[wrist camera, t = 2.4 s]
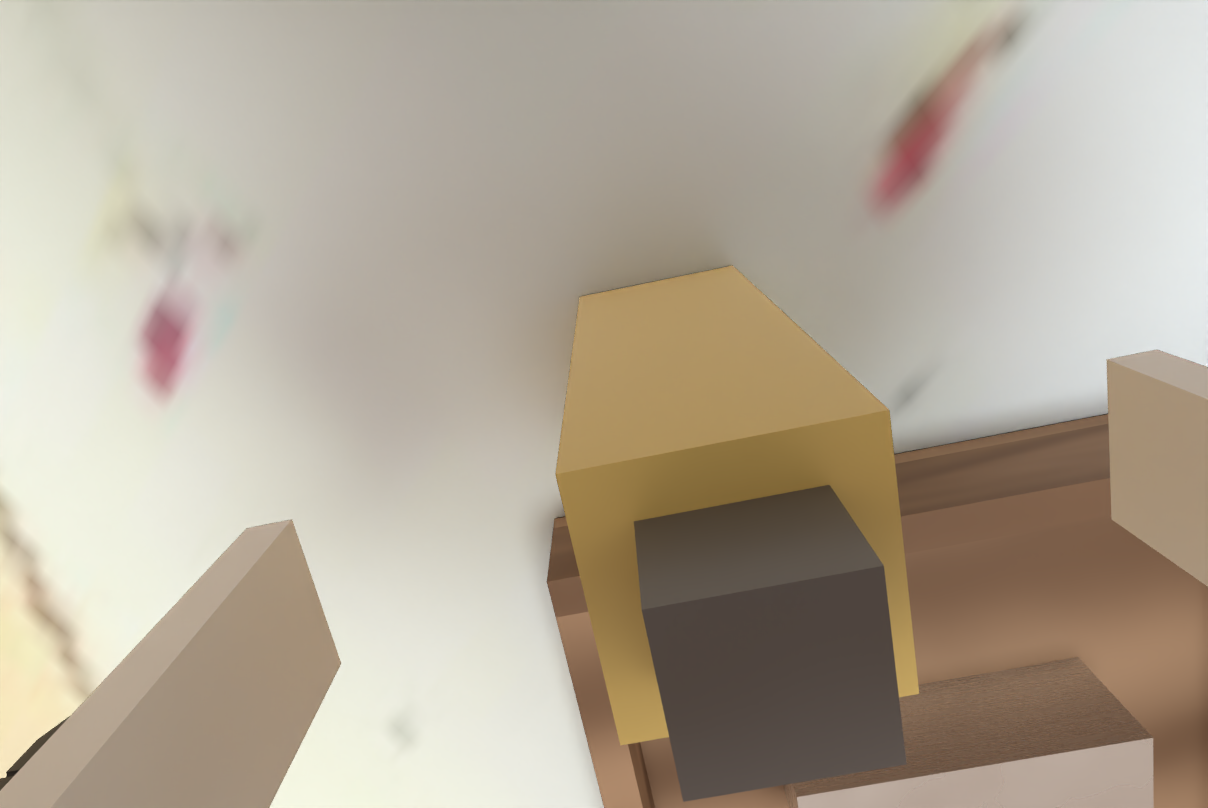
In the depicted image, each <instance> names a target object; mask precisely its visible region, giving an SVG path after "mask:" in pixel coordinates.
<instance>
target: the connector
mask: <svg viewBox="0 0 1208 808" xmlns="http://www.w3.org/2000/svg"><path fill="white" fill-rule="evenodd" d="M556 479H557V483H558V487H559V491H560V495H561V499H562V504H563V508H564V512H565V516H566V520H567V524H568V529H569V533H570V537H571V541H572V545H573V549H574V554H575V558H576V562H577V566H578V570H579V574H580V579H581V583H582V587H583V591H584V595H585V600H586V604H587V608H588V612H589V616H590V620H591V625H592V629H593V633H594V637H595V641H596V645H597V650H598V654H599V658H600V662H601V666H602V670H603V675H604V679H605V683H606V687H607V691H608V695H609V700H610V704H611V708H612V712H613V716H614V720H615V725H616V729H617V733H618V737H619V741H620V745H626V744H632V743H637V742H643V741H649V740H655V739H661V738H666V737H669V738H670V743H671V748H672V752H673V757H674V761H675V766H676V771H677V775H678V780H679V784H680V789H681V794H682V798H683V802H685V801H691V800H697V799H703V798H709V797H715V796H721V795H727V794H733V793H739V792H745V791H751V790H757V789H763V788H769V787H775V786H781V785H787V784H793V783H799V782H805V781H810V780H816V779H822V778H828V777H834V776H840V775H846V774H852V773H858V772H864V771H870V770H876V769H882V768H888V767H894V766H900V765H906V764H907V763H906V754H905V745H904V737H903V728H902V719H901V710H900V702H899V697H904V696H910V695H916V694H919V686H918V677H917V667H916V658H915V648H914V639H913V629H912V620H911V610H910V601H909V591H908V582H907V572H906V563H905V553H904V544H903V534H902V525H901V515H900V506H899V496H898V487H897V477H896V468H895V458H894V449H893V439H892V430H891V420H890V411H889V409H888V408H887V407H886V406H885V405H883V404H882V403H881V402H880V401H879V400H878V399H877V398H876V397H875V396H874V395H873V394H872V393H870V392H869V391H868V390H867V389H866V388H865V387H864V386H863V385H862V384H861V383H860V382H859V381H857V380H856V379H855V378H854V377H853V376H852V375H851V374H850V373H849V372H848V371H847V370H845V369H844V368H843V367H842V366H841V365H840V364H839V363H838V362H837V361H836V360H835V359H834V358H832V357H831V356H830V355H829V354H828V353H827V352H826V351H825V350H824V349H823V348H822V347H821V346H819V345H818V344H817V343H816V342H815V341H814V340H813V339H812V338H811V337H810V336H809V335H808V334H806V333H805V332H804V331H803V330H802V329H801V328H800V327H799V326H798V325H797V324H796V323H795V322H793V321H792V320H791V319H790V318H789V317H788V316H787V315H786V314H785V313H784V312H783V311H781V310H780V309H779V308H778V307H777V306H776V305H775V304H774V303H773V302H772V301H771V300H770V299H768V298H767V297H766V296H765V295H764V294H763V293H762V292H761V291H760V290H759V289H758V288H757V287H755V286H754V285H753V284H752V283H751V282H750V281H749V280H748V279H747V278H746V277H745V276H744V275H742V274H741V273H740V272H739V271H738V270H737V269H736V268H735V267H734V266H733V265H732V266H728V267H723V268H718V269H713V270H708V271H703V272H698V273H693V274H688V275H683V276H679V277H674V278H669V279H664V280H659V281H654V282H649V283H644V284H639V285H634V286H630V287H625V288H620V289H615V290H610V291H605V292H600V293H595V294H590V295H586V296H581V297H579V305H578V312H577V319H576V327H575V334H574V341H573V349H572V356H571V363H570V371H569V378H568V385H567V393H566V400H565V408H564V415H563V422H562V430H561V437H560V444H559V452H558V459H557V466H556Z"/></svg>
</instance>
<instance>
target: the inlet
mask: <svg viewBox="0 0 1208 808" xmlns="http://www.w3.org/2000/svg"><path fill="white" fill-rule="evenodd" d="M918 686H919V694H916V695H910V696H904V697H899V702H900V710H901V719H902V728H903V737H904V745H905V754H906V763H907V764H906V765H900V766H894V767H888V768H882V769H876V770H870V771H864V772H858V773H852V774H846V775H840V776H834V777H828V778H822V779H816V780H810V781H805V782H799V783H793V784H787V785H784V791H785V795H786V798H787V802H788V805H789V808H1154V799H1153V737H1152V736H1151V735H1150V734H1149V733H1148V732H1147V730H1146V729H1145V728H1144V727H1143V726H1142V725H1141V724H1140V723H1139V722H1138V721H1137V720H1136V719H1135V718H1134V717H1133V715H1132V714H1131V713H1130V712H1129V711H1128V710H1127V709H1126V708H1125V707H1124V706H1123V705H1122V704H1121V703H1120V701H1119V700H1118V699H1117V698H1116V697H1115V696H1114V695H1113V694H1112V693H1111V692H1110V691H1109V690H1108V689H1107V687H1106V686H1105V685H1104V684H1103V683H1102V682H1101V681H1100V680H1099V679H1098V678H1097V677H1096V676H1095V675H1094V673H1093V672H1092V671H1091V670H1090V669H1089V668H1088V667H1087V666H1086V665H1085V664H1084V663H1083V662H1082V661H1081V659H1080V658H1079V657H1076V658H1071V659H1065V660H1059V661H1053V662H1048V663H1042V664H1036V665H1030V666H1024V667H1019V668H1013V669H1007V670H1001V671H996V672H990V673H984V674H978V675H972V676H967V677H961V678H955V679H949V680H943V681H938V682H932V683H926V684H920V685H918Z"/></svg>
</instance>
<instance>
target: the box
mask: <svg viewBox="0 0 1208 808" xmlns="http://www.w3.org/2000/svg"><path fill="white" fill-rule="evenodd" d="M894 458H895V468H896V477H897V487H898V496H899V506H900V515H901V525H902V534H903V544H904V553H905V563H906V572H907V582H908V591H909V601H910V610H911V620H912V629H913V639H914V648H915V658H916V667H917V677H918V685H920V684H926V683H932V682H938V681H943V680H949V679H955V678H961V677H967V676H972V675H978V674H984V673H990V672H996V671H1001V670H1007V669H1013V668H1019V667H1024V666H1030V665H1036V664H1042V663H1048V662H1053V661H1059V660H1065V659H1071V658H1076V657H1079V658H1080V659H1081V661H1082V662H1083V663H1084V664H1085V665H1086V666H1087V667H1088V668H1089V669H1090V670H1091V671H1092V672H1093V673H1094V675H1095V676H1096V677H1097V678H1098V679H1099V680H1100V681H1101V682H1102V683H1103V684H1104V685H1105V686H1106V687H1107V689H1108V690H1109V691H1110V692H1111V693H1112V694H1113V695H1114V696H1115V697H1116V698H1117V699H1118V700H1119V701H1120V703H1121V704H1122V705H1123V706H1124V707H1125V708H1126V709H1127V710H1128V711H1129V712H1130V713H1131V714H1132V715H1133V717H1134V718H1135V719H1136V720H1137V721H1138V722H1139V723H1140V724H1141V725H1142V726H1143V727H1144V728H1145V729H1146V730H1147V732H1148V733H1149V734H1150V735H1151V736H1152V737H1153V799H1154V808H1208V586H1206V585H1205V584H1203V583H1202V582H1200V581H1199V580H1198V579H1196V578H1195V577H1193V576H1192V575H1190V574H1189V573H1188V572H1186V571H1185V570H1183V569H1182V568H1180V567H1179V566H1178V565H1176V564H1175V563H1173V562H1172V561H1170V560H1169V559H1167V558H1166V557H1165V556H1163V555H1162V554H1160V553H1159V552H1157V551H1156V550H1155V549H1153V548H1152V547H1150V546H1149V545H1147V544H1146V543H1145V542H1143V541H1142V540H1140V539H1139V538H1137V537H1136V536H1135V535H1133V534H1132V533H1130V532H1129V531H1127V530H1126V529H1125V528H1123V527H1122V526H1120V525H1119V524H1117V523H1116V522H1115V521H1113V520H1112V519H1111V487H1110V453H1109V420H1108V414H1106V415H1101V416H1095V417H1090V418H1085V419H1080V420H1074V421H1069V422H1064V423H1058V424H1053V425H1048V426H1043V427H1037V428H1032V429H1027V430H1021V431H1016V432H1011V433H1005V434H1000V435H995V436H990V437H984V438H979V439H974V440H968V441H963V442H958V443H953V444H947V445H942V446H937V447H931V448H926V449H921V450H916V451H910V452H905V453H900V454H894ZM547 584H548V588H549V592H550V596H551V600H552V604H553V608H554V612H555V616H556V620H557V623H558V627H559V631H560V635H561V639H562V643H563V647H564V651H565V655H566V659H567V663H568V667H569V671H570V675H571V679H572V683H573V686H574V690H575V694H576V698H577V702H578V706H579V710H580V714H581V718H582V722H583V726H584V730H585V734H586V738H587V742H588V746H589V749H590V753H591V757H592V761H593V765H594V769H595V773H596V777H597V781H598V785H599V789H600V793H601V797H602V801H603V805H604V808H789V805H788V802H787V798H786V795H785V791H784V785H781V786H775V787H769V788H763V789H757V790H751V791H745V792H739V793H733V794H727V795H721V796H715V797H709V798H703V799H697V800H691V801H685V802H683V798H682V794H681V789H680V784H679V780H678V775H677V771H676V766H675V761H674V757H673V752H672V748H671V743H670V738H669V737H666V738H661V739H655V740H649V741H643V742H637V743H632V744H626V745H620V741H619V737H618V733H617V729H616V725H615V720H614V716H613V712H612V708H611V704H610V700H609V695H608V691H607V687H606V683H605V679H604V675H603V670H602V666H601V662H600V658H599V654H598V650H597V645H596V641H595V637H594V633H593V629H592V625H591V620H590V616H589V612H588V608H587V604H586V600H585V595H584V591H583V587H582V583H581V579H580V574H579V570H578V566H577V562H576V558H575V554H574V549H573V545H572V541H571V537H570V533H569V529H568V524H567V520H566V517H561V518H556V519H555V520H554V528H553V536H552V544H551V553H550V561H549V569H548V577H547Z"/></svg>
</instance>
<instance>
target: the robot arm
mask: <svg viewBox="0 0 1208 808" xmlns="http://www.w3.org/2000/svg"><path fill="white" fill-rule="evenodd" d="M1107 387H1108V420H1109V453H1110V487H1111V519H1112V520H1113V521H1115V522H1116V523H1117V524H1119V525H1120V526H1122V527H1123V528H1125V529H1126V530H1127V531H1129V532H1130V533H1132V534H1133V535H1135V536H1136V537H1137V538H1139V539H1140V540H1142V541H1143V542H1145V543H1146V544H1147V545H1149V546H1150V547H1152V548H1153V549H1155V550H1156V551H1157V552H1159V553H1160V554H1162V555H1163V556H1165V557H1166V558H1167V559H1169V560H1170V561H1172V562H1173V563H1175V564H1176V565H1178V566H1179V567H1180V568H1182V569H1183V570H1185V571H1186V572H1188V573H1189V574H1190V575H1192V576H1193V577H1195V578H1196V579H1198V580H1199V581H1200V582H1202V583H1203V584H1205V585H1206V586H1208V367H1206V366H1203V365H1200V364H1197V363H1194V362H1192V361H1189V360H1186V359H1183V358H1180V357H1177V356H1174V355H1171V354H1168V353H1165V352H1162V351H1159V350H1152V351H1147V352H1142V353H1137V354H1132V355H1127V356H1122V357H1116V358H1111V359H1107ZM340 665H341V662H340V659H339V656H338V653H337V650H336V647H335V644H334V641H333V638H332V635H331V632H330V629H329V627H328V624H327V621H326V618H325V615H324V612H323V609H322V606H321V603H320V600H319V597H318V594H317V591H316V589H315V586H314V583H313V580H312V577H311V574H310V571H309V568H308V565H307V562H306V559H305V556H304V553H303V550H302V548H301V545H300V542H299V539H298V536H297V533H296V530H295V527H294V524H293V521H292V519H291V520H286V521H281V522H276V523H271V524H266V525H261V526H255V527H250V528H246V529H245V530H244V532H243V533H242V534H241V535H240V536H239V537H238V538H237V539H236V540H235V541H234V542H233V543H232V544H231V545H230V546H229V548H228V549H227V550H226V551H225V552H224V553H223V554H222V555H221V556H220V557H219V558H218V559H217V560H216V561H215V562H214V564H213V565H212V566H211V567H210V568H209V569H208V570H207V571H206V572H205V573H204V574H203V575H202V576H201V577H200V578H199V579H198V581H197V582H196V583H195V584H194V585H193V586H192V587H191V588H190V589H189V590H188V591H187V592H186V593H185V594H184V595H183V597H182V598H181V599H180V600H179V601H178V602H177V603H176V604H175V605H174V606H173V607H172V608H171V609H170V610H169V611H168V613H167V614H166V615H165V616H164V617H163V618H162V619H161V620H160V621H159V622H158V623H157V624H156V625H155V626H154V627H153V629H152V630H151V631H150V632H149V633H148V634H147V635H146V636H145V637H144V638H143V639H142V640H141V641H140V642H139V643H138V644H137V646H136V647H135V648H134V649H133V650H132V651H131V652H130V653H129V654H128V655H127V656H126V657H125V658H124V659H123V660H122V662H121V663H120V664H119V665H118V666H117V667H116V668H115V669H114V670H113V671H112V672H111V673H110V674H109V675H108V676H107V678H106V679H105V680H104V681H103V682H102V683H101V684H100V685H99V686H98V687H97V688H96V689H95V690H94V691H93V692H92V693H91V695H90V696H89V697H88V698H87V699H86V700H85V701H84V702H83V703H82V704H81V705H80V706H79V707H78V708H77V709H76V711H75V712H74V713H73V714H72V715H71V716H69V717H68V718H67V719H65V720H64V721H62V722H61V723H60V724H58V725H57V726H56V727H54V728H53V729H51V730H50V731H49V732H47V733H46V734H45V735H43V736H42V737H40V738H39V739H38V740H37V741H36V742H35V743H34V744H33V745H32V746H31V747H30V748H29V749H28V750H27V751H26V752H25V753H24V754H23V755H22V756H21V757H20V758H19V759H18V761H17V762H16V763H15V764H14V765H13V766H12V767H11V768H10V769H9V770H8V771H7V772H6V773H7V776H6V778H1V779H0V808H269V807H270V805H271V803H272V801H273V799H274V797H275V795H276V793H277V791H278V789H279V787H280V785H281V783H282V781H283V779H284V777H285V775H286V773H287V771H288V769H289V767H290V765H291V763H292V761H293V759H294V757H295V755H296V753H297V751H298V749H299V747H300V745H301V743H302V741H303V739H304V737H305V735H306V733H307V731H308V729H309V727H310V725H311V723H312V721H313V719H314V717H315V715H316V713H317V711H318V709H319V707H320V705H321V703H322V701H323V699H324V697H325V695H326V693H327V691H328V689H329V687H330V685H331V683H332V681H333V679H334V677H335V675H336V673H337V671H338V669H339V667H340Z"/></svg>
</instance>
